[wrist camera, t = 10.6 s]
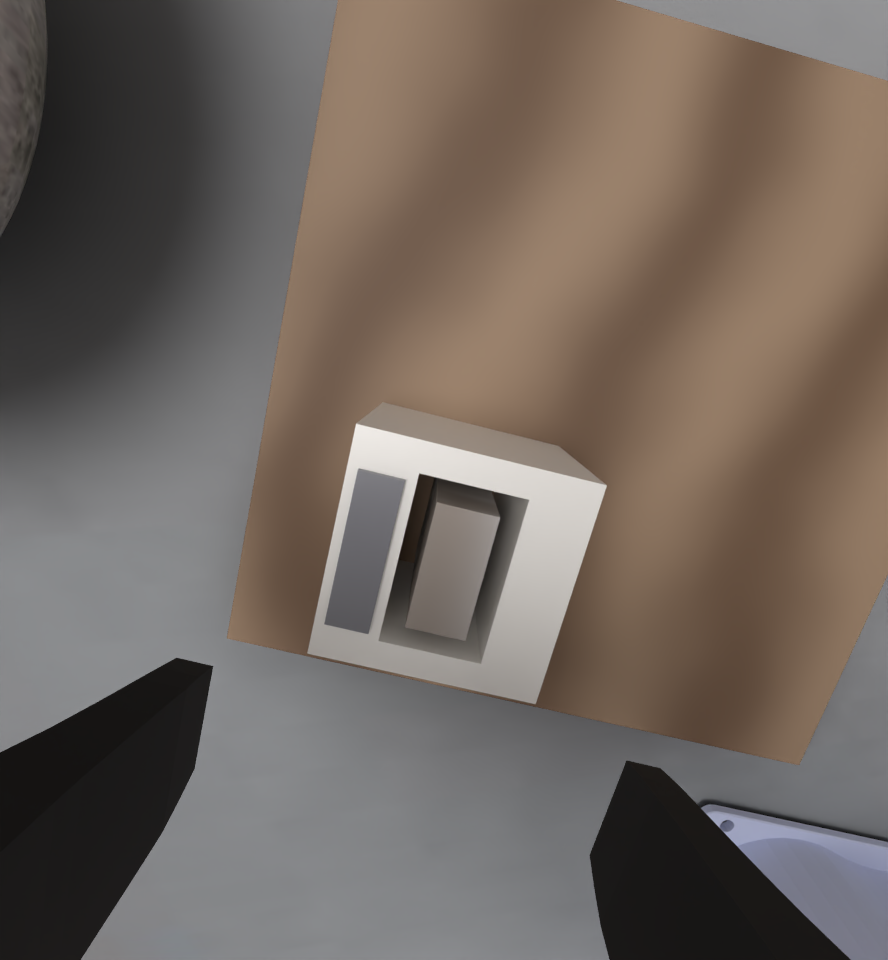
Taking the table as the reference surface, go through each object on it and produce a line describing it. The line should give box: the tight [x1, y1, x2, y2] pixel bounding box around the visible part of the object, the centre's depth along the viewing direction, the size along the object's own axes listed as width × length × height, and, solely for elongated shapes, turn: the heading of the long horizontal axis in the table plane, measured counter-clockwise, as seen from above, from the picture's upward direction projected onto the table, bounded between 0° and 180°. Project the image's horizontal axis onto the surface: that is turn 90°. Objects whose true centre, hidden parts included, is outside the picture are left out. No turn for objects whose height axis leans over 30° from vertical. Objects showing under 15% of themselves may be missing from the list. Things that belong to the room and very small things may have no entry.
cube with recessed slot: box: [307, 402, 607, 704], centre depth 14 cm, size 5×5×5 cm
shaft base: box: [227, 0, 888, 765], centre depth 14 cm, size 20×20×6 cm
